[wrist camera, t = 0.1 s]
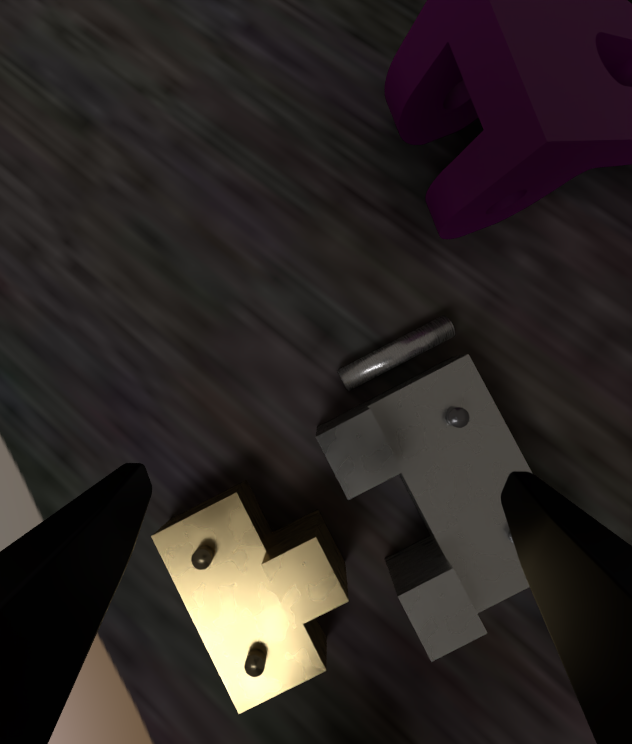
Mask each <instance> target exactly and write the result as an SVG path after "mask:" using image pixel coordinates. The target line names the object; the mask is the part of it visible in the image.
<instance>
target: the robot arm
mask: <svg viewBox="0 0 632 744" xmlns="http://www.w3.org/2000/svg"><path fill="white" fill-rule="evenodd" d="M151 494H152V484H151V482H150V479H149V476H148V473H147V471H146V468H145V466H144V465H143V464H141V463H126V464H124V465H122V466H120V467H119V468H118V469H116V470H115V471H113V472H112V473H111V474H109V475H108V476H106V477H105V478H103V479H102V480H101V481H99V482H98V483H96V484H95V485H94V486H92V487H91V488H89V489H88V490H87V491H85V492H84V493H82V494H81V495H80V496H78V497H77V498H75V499H74V500H72V501H71V502H70V503H68V504H67V505H65V506H64V507H63V508H61V509H60V510H58V511H57V512H56V513H54V514H53V515H51V516H50V517H48V518H47V519H46V520H44V521H43V522H41V523H40V524H39V525H37V526H36V527H34V528H33V529H32V530H30V531H29V532H27V533H26V534H24V535H23V536H22V537H20V538H19V539H17V540H16V541H15V542H13V543H12V544H11V545H9V546H8V547H6V548H5V549H3V550H2V551H1V552H0V744H48V742H49V740H50V737H51V735H52V732H53V731H54V728H55V726H56V724H57V721H58V719H59V717H60V715H61V713H62V710H63V708H64V706H65V704H66V701H67V699H68V697H69V695H70V692H71V690H72V688H73V686H74V683H75V681H76V679H77V677H78V674H79V672H80V670H81V668H82V665H83V663H84V661H85V658H86V656H87V654H88V652H89V650H90V647H91V645H92V643H93V641H94V638H95V636H96V634H97V632H98V630H99V627H100V625H101V623H102V621H103V618H104V616H105V614H106V612H107V609H108V607H109V605H110V603H111V600H112V598H113V596H114V594H115V591H116V589H117V587H118V585H119V582H120V580H121V578H122V576H123V573H124V571H125V569H126V567H127V564H128V562H129V559H130V557H131V554H132V552H133V549H134V546H135V543H136V540H137V537H138V534H139V531H140V528H141V525H142V522H143V519H144V516H145V513H146V510H147V507H148V504H149V501H150V498H151ZM501 504H502V507H503V510H504V514H505V517H506V520H507V523H508V526H509V529H510V533H511V536H512V539H513V542H514V545H515V549H516V552H517V555H518V558H519V561H520V564H521V567H522V569H523V572H524V574H525V577H526V579H527V581H528V584H529V586H530V588H531V591H532V593H533V595H534V598H535V600H536V602H537V605H538V607H539V609H540V612H541V614H542V616H543V619H544V621H545V623H546V626H547V628H548V630H549V633H550V635H551V637H552V640H553V642H554V645H555V647H556V649H557V652H558V654H559V656H560V659H561V661H562V663H563V666H564V668H565V670H566V673H567V675H568V677H569V680H570V682H571V684H572V687H573V689H574V691H575V694H576V696H577V698H578V701H579V703H580V705H581V708H582V710H583V712H584V715H585V717H586V719H587V722H588V724H589V726H590V729H591V731H592V733H593V736H594V738H595V740H596V743H597V744H632V546H631V545H630V544H628V543H627V542H625V541H624V540H623V539H621V538H620V537H619V536H617V535H616V534H614V533H613V532H612V531H610V530H609V529H608V528H606V527H605V526H604V525H602V524H601V523H599V522H598V521H597V520H595V519H594V518H593V517H591V516H590V515H589V514H587V513H586V512H584V511H583V510H582V509H580V508H579V507H578V506H576V505H575V504H574V503H572V502H571V501H569V500H568V499H567V498H565V497H564V496H563V495H561V494H560V493H558V492H557V491H556V490H554V489H553V488H552V487H550V486H549V485H548V484H546V483H545V482H543V481H542V480H541V479H539V478H538V477H537V476H535V475H534V474H532V473H530V472H527V471H513V472H511V473H510V474H509V476H508V478H507V480H506V483H505V485H504V487H503V490H502V492H501Z"/></svg>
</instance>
